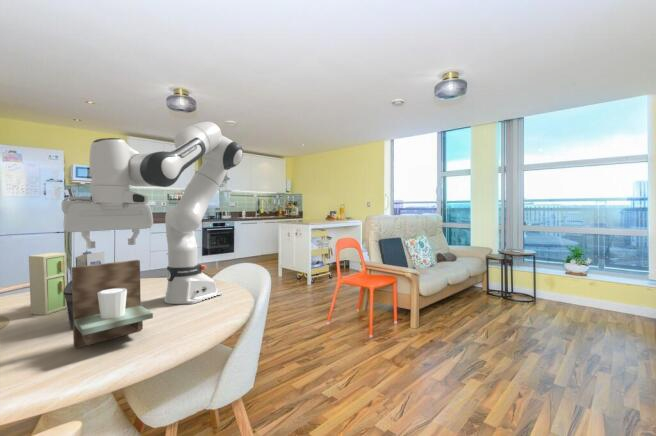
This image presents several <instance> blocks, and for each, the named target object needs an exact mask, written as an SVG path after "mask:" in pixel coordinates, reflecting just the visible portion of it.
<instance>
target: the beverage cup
mask: <svg viewBox="0 0 656 436" xmlns="http://www.w3.org/2000/svg"><path fill="white" fill-rule="evenodd" d="M81 266H83V265H81ZM64 296H65V299H66V303H67V308H66V309H67V317H68V322H69V328H70V330H72V331H73V301H72V280H70V281H69V282H67V285H66V287H65V290H64Z"/></svg>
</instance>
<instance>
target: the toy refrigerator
mask: <svg viewBox="0 0 656 436" xmlns="http://www.w3.org/2000/svg"><path fill="white" fill-rule="evenodd" d="M28 267H29V268H28V271H29V273H28V274H29V296H30V298H29V299H30V300H29V301H30V303H29V304H30V314H31V315H38V316H39V315H40V316H47V315H49V314H53V313H56V312H59V311H62V310H65V309H67V303H66V299H65V296H64V290H65V287H66V285H67V284H68V277H67V274H68V273H67V271H68V269H67V253H66V252H46V253H45V252H44V253H40V254H31V255H28Z"/></svg>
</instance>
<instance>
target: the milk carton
mask: <svg viewBox="0 0 656 436" xmlns="http://www.w3.org/2000/svg"><path fill="white" fill-rule="evenodd" d="M97 264H105V251H100V252H92V251H86V252H82V254H80V255H79V256H76V257H75V267H79V266H81V265H83V266H88V265H97Z"/></svg>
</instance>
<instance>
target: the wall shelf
mask: <svg viewBox="0 0 656 436" xmlns="http://www.w3.org/2000/svg"><path fill="white" fill-rule="evenodd" d="M71 281H72V301H73V330H72V333H73V334H72V335H73V337H72V338H73V348H74V349H80V348H82V347H86V346H89V345H94V344H98V343H101V342H104V341H108V340H112V339H116V338H120V337H123V336H127V335H131V334H135V333H139V332H142V331H143V329H144V328H143V326H144V325H143V321H147V320H150V319H153V318H154V317H153V316H154V313H153V312H152V311H150V310H149V309H147V308H146V307H144V306H142V305H141V301H142V300H141V260H140V259H134V260H133V259H132V260H125V261H117V262H116V261H115V262H108V263H107V262H106V263H105V262H104V264H97V265H88V266H79V267H76V266H72V267H71ZM112 288H126V289H127V295H126V306H125V314H124V315H122V316H120V317H117V318H111V319H102V318H101V316H100V309H99V301H98V294H97V293H98V292H99V291H102V290H106V289H112Z"/></svg>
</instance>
